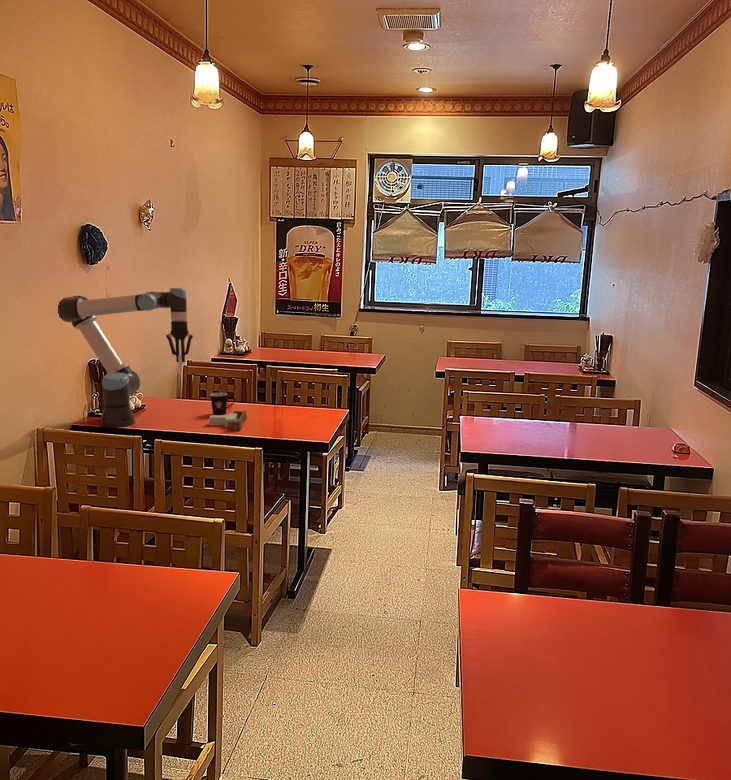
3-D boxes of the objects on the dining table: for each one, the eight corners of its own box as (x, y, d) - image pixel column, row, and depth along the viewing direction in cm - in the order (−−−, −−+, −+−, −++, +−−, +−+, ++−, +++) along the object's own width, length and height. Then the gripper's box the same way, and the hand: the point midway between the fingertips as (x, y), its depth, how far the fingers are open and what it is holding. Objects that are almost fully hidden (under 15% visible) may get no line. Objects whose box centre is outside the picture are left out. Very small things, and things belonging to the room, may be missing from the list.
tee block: (208, 427, 325) (207, 419, 324) (212, 421, 337) (212, 413, 336) (233, 427, 326) (233, 419, 325) (237, 421, 338) (237, 413, 337)
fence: (227, 430, 320) (227, 422, 320) (234, 419, 342) (234, 411, 342) (240, 430, 321) (240, 422, 320) (246, 419, 343) (246, 411, 342)
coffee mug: (207, 414, 350) (207, 395, 348) (216, 411, 358) (215, 392, 356) (228, 416, 347) (227, 397, 345) (236, 413, 355) (236, 393, 353)
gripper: (163, 321, 330) (165, 370, 335) (191, 321, 331) (193, 370, 336) (167, 319, 338) (169, 367, 342) (194, 319, 338) (196, 367, 343)
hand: (181, 368), depth 339 cm, fingers closed
